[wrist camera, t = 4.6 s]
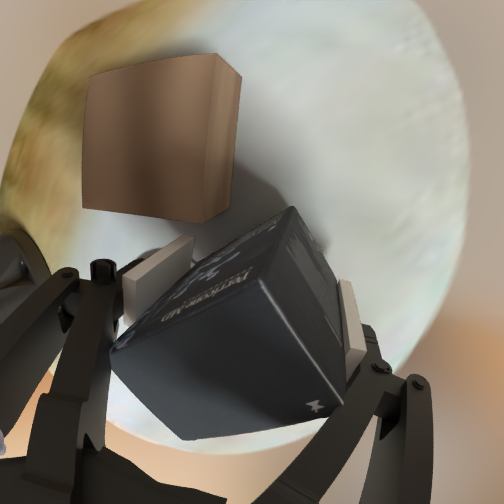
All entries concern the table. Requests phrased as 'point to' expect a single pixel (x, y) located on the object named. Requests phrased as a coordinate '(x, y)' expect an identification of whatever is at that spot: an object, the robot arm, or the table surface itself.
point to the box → (241, 338)
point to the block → (161, 138)
